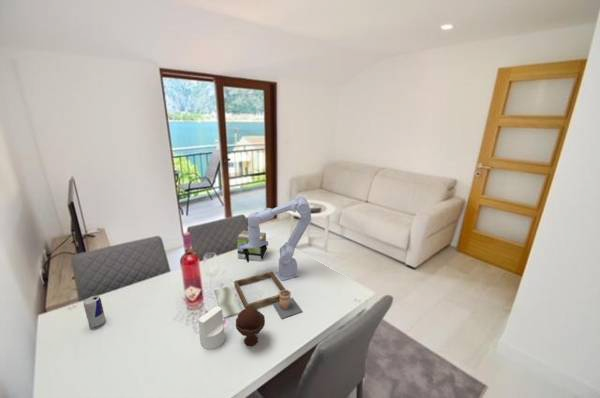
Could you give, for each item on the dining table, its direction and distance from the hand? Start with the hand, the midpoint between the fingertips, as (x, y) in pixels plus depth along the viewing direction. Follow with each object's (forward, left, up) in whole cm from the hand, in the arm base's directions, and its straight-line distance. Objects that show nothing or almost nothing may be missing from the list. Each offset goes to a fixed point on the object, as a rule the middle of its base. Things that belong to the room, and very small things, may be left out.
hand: (254, 259), depth 139 cm
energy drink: (+68, +5, -10) cm, 69 cm away
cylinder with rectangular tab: (+28, +33, -10) cm, 44 cm away
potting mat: (-5, +30, -10) cm, 32 cm away
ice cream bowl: (+15, +40, -10) cm, 44 cm away
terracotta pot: (-4, +29, -9) cm, 31 cm away
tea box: (-5, -21, -10) cm, 24 cm away
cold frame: (+7, +14, -10) cm, 18 cm away
